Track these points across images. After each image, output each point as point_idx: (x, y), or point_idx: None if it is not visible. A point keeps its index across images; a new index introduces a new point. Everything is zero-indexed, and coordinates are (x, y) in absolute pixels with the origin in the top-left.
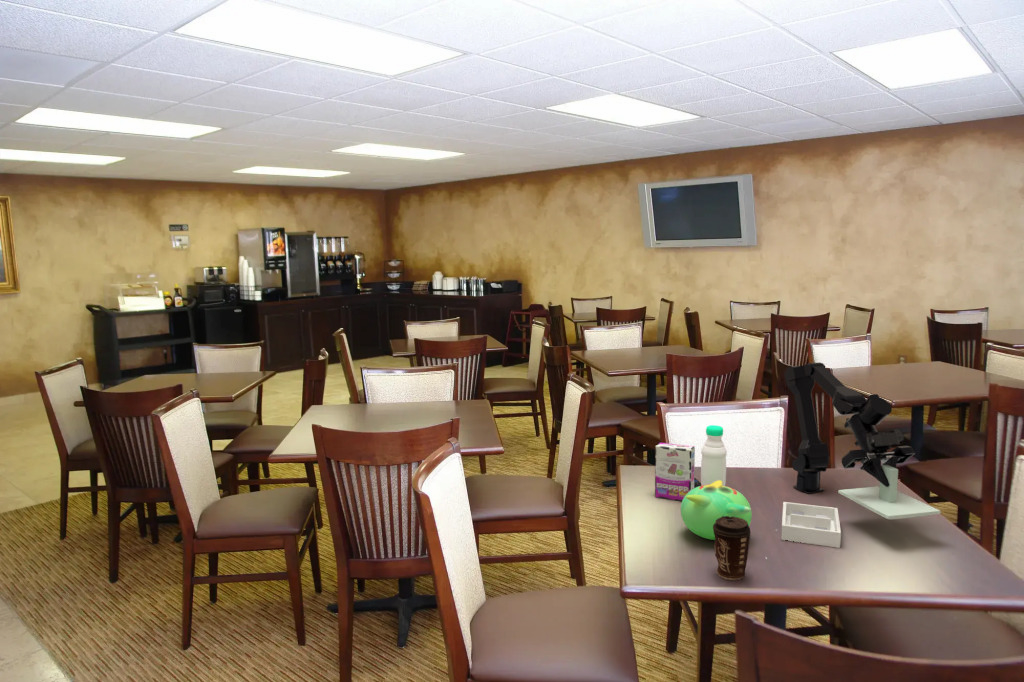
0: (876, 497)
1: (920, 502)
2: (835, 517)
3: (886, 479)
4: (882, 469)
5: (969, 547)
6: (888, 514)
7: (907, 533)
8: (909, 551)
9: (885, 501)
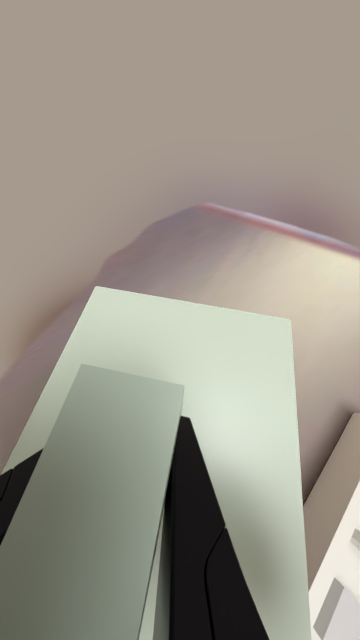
0: None
1: (67, 359)
2: (344, 552)
3: (188, 447)
4: (180, 590)
5: (86, 301)
6: (279, 328)
7: None
8: None
9: None
